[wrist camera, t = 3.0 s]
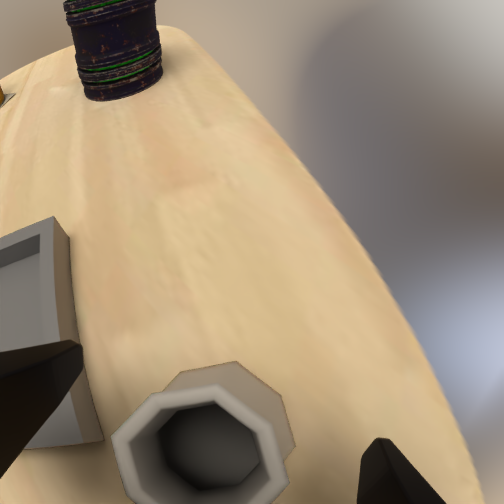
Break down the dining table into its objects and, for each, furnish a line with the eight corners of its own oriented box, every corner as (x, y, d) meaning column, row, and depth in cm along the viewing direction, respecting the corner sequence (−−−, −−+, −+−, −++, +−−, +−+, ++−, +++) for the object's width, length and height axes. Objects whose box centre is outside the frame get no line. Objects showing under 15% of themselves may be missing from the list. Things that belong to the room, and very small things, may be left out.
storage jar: (92, 73, 30) (74, -24, 17) (163, 57, 32) (157, -44, 19) (76, 110, 25) (45, -12, 13) (164, 90, 27) (153, -42, 14)
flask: (123, 402, 13) (-8, 368, 5) (241, 338, 15) (256, 228, 7) (197, 516, 10) (156, 627, 2) (318, 448, 13) (440, 479, 4)
